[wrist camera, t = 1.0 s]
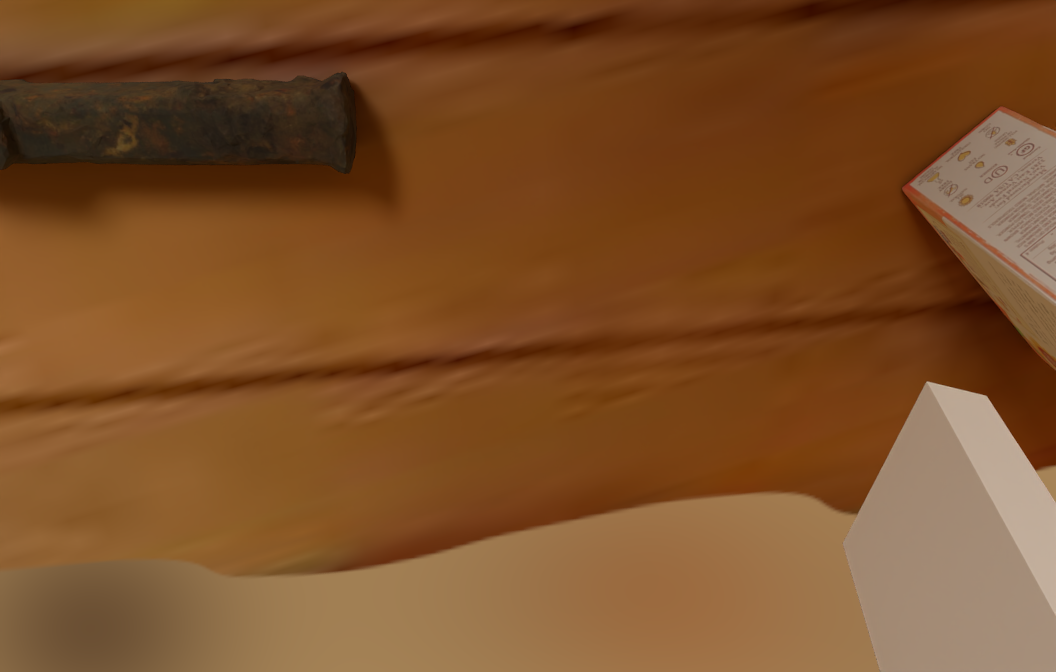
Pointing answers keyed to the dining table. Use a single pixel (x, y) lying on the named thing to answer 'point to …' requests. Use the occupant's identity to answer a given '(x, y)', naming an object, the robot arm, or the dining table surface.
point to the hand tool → (180, 122)
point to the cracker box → (1001, 217)
